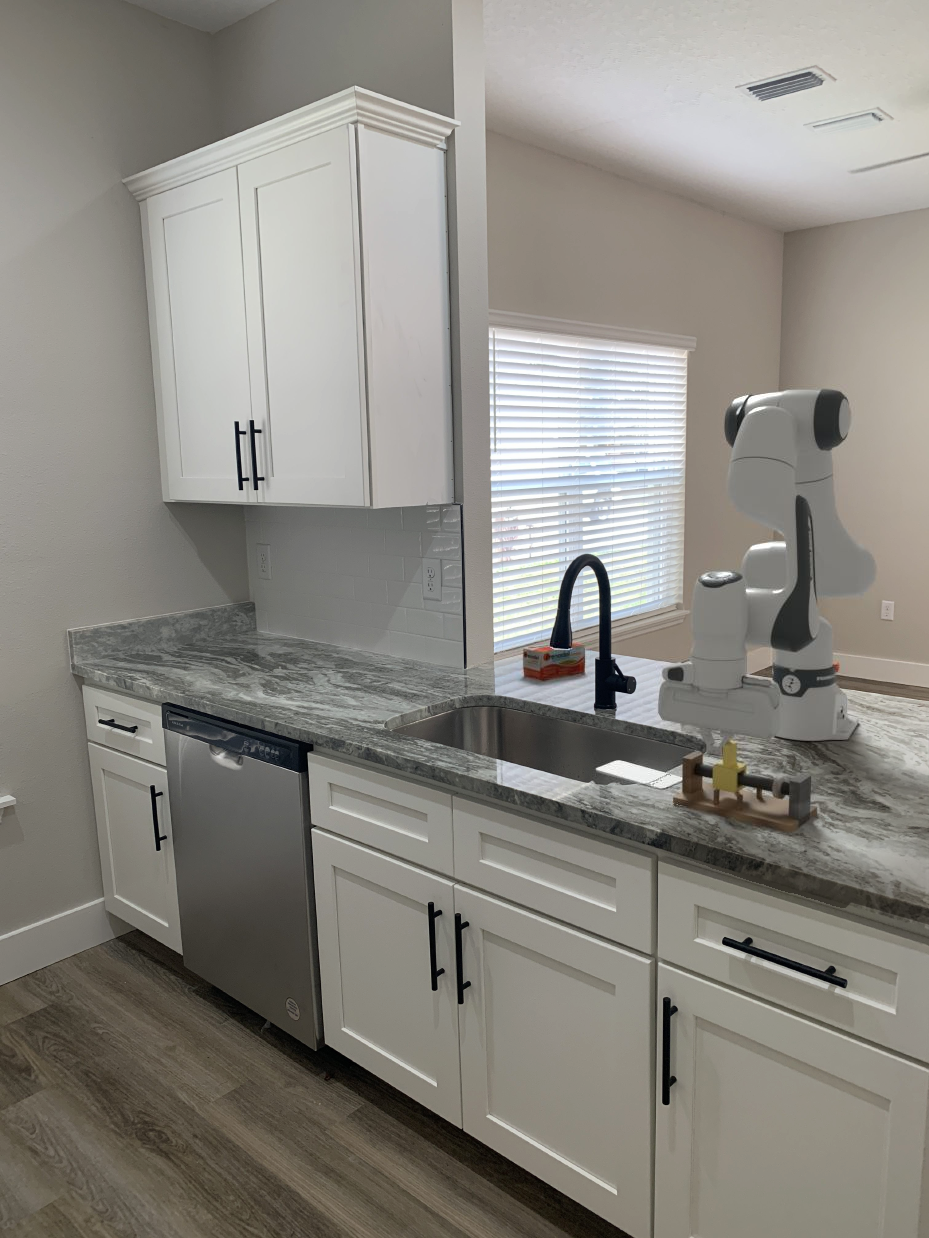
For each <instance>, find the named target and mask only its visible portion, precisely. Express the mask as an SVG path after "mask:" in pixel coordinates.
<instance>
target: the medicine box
mask: <svg viewBox="0 0 929 1238" xmlns="http://www.w3.org/2000/svg"><path fill="white" fill-rule="evenodd" d="M585 648H586V647H585V644H580V643H575V642H572V649H570V650H554V649H552V648H550V643H544V644H539V645H532V646H528V647H527V646H526V647H523V648H522V670H523V676H524V677H526V678H531V679H533V680H537V681H540V682H544V681H549V680H555V679H562V678H567V677H571V676H577V675H582V674H585V673H586V649H585Z"/></svg>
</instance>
